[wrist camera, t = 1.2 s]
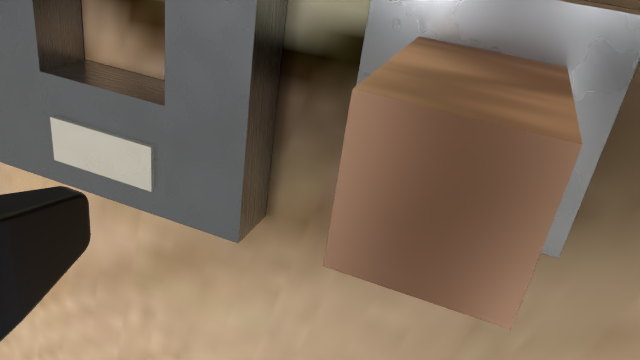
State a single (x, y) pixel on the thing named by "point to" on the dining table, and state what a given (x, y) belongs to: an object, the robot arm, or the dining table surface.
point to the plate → (149, 110)
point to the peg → (453, 175)
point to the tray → (531, 43)
